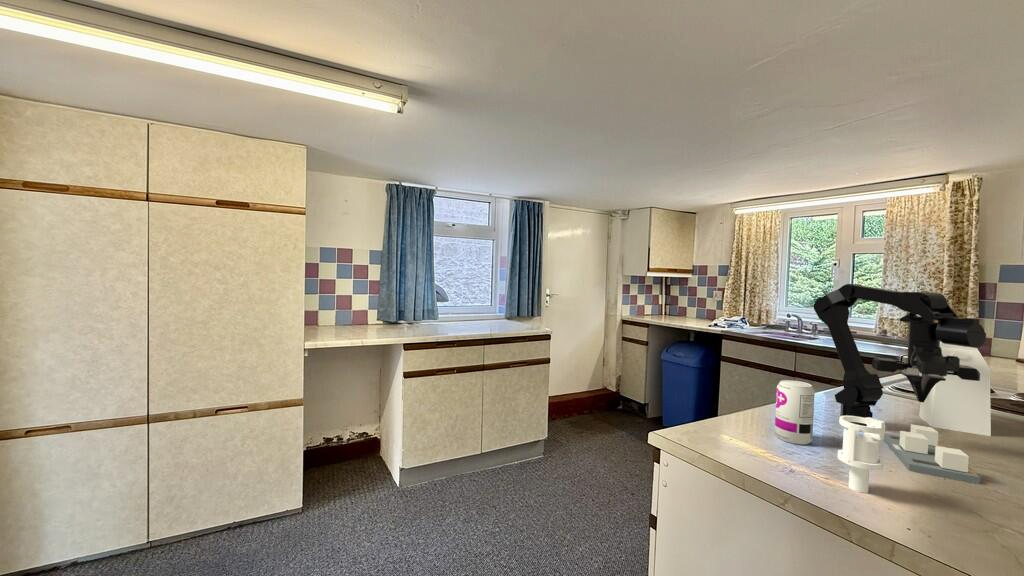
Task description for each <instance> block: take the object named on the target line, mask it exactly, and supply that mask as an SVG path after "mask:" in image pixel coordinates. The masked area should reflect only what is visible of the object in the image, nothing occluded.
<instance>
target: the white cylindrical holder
mask: <svg viewBox="0 0 1024 576" xmlns="http://www.w3.org/2000/svg"><path fill="white" fill-rule="evenodd" d="M838 421H839V422H838V423H839V425H841V426H842V427H844V428H843V431H842V432H843V434H842V435H843V436H842V449H838V450H837V459H838V460H839V461H841V462H842V463H844V464H845V465H846V464H847V465H848V466H849V473H848V488H849V489H850V490H852V491H854V492H857V493H861V494H868V493H869V481H870V471H882V470H883V469H884V461H883V460H882V459H881V458H880V457H879V455H880V450H879V449H880V441H883V440H884V433H886V422H885V421H883V420H879V419H876V418H873V417H872V418H871V417H870V418H869V417H867V418H863V417H857V416H839V417H838ZM850 422H858V423H864V424H867V426H861V425H857V424H853V423H850ZM860 431H862V433H863V434H860V433H859V432H860Z"/></svg>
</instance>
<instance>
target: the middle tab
mask: <svg viewBox="0 0 1024 576" xmlns="http://www.w3.org/2000/svg"><path fill="white" fill-rule="evenodd" d="M899 435H900V444H899V445H900V446H901V447H902V448H903V449H904V450H906V451H912V452H917V453H923V454H928V439H927V438H926V437H925V436H924V435H922V434H917V433H911V431H904V430H900V431H899Z"/></svg>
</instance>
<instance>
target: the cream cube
mask: <svg viewBox="0 0 1024 576" xmlns="http://www.w3.org/2000/svg"><path fill="white" fill-rule="evenodd" d="M910 432H911V433H917V434H922V435H924V436H925V437H926V438H927V439H928V445H932V446H938V443H939V431H937V430H936V429H934V427H931V426H924V425H917V424H910Z"/></svg>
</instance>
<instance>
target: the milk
mask: <svg viewBox="0 0 1024 576" xmlns="http://www.w3.org/2000/svg"><path fill="white" fill-rule="evenodd" d="M940 347H941V350H942V355H943V356H944V357H946V356H957V357H958V358H959V359H960V365H965V366H970V367H973V368H975V369H977V370H978V371H979V373H980V381H973V380H964V379H961V378H960V377H958V376H957V375H948V374H947V376H944V377H943V378H945V379H946V380H945V381H939V382H938V383H936V384H935V385H934V387H933V388H932V389H931V391H930V393H929V394H928V396H927V398H926V399H925V401H924V402H920V405H919V414H918V415H919V417H920V418H921V419H922V420H923V422H925V421H926V422H927V423H928V424H929V425H928V424H927V425H928V426H929V427H932V428H936V429H943V430H944V429H945V430H948V429H949V431H950V430H951V431H956V432H963V433H966V434H967V433H968V434H975V435H981V436H988V437H991V433H992V431H991V429H992V428H991V422H992V421H991V420H992V419H991V416H992V415H991V413H992V412H991V370H990V367H989V365H988V363H987V361H986V360H985V359H984V357H983V355H982V354H981V352H980V350H979V349H978V348H972V347H965V346H957V345H949V344H944V343H942V342H941V341H940ZM926 422H925V423H926Z"/></svg>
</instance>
